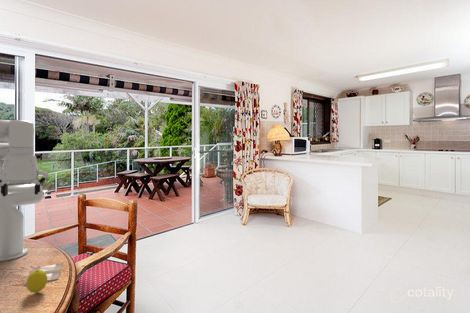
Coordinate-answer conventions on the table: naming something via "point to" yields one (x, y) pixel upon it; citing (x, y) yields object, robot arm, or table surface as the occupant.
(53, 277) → the label board
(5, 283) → the table surface
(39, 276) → the lemon
